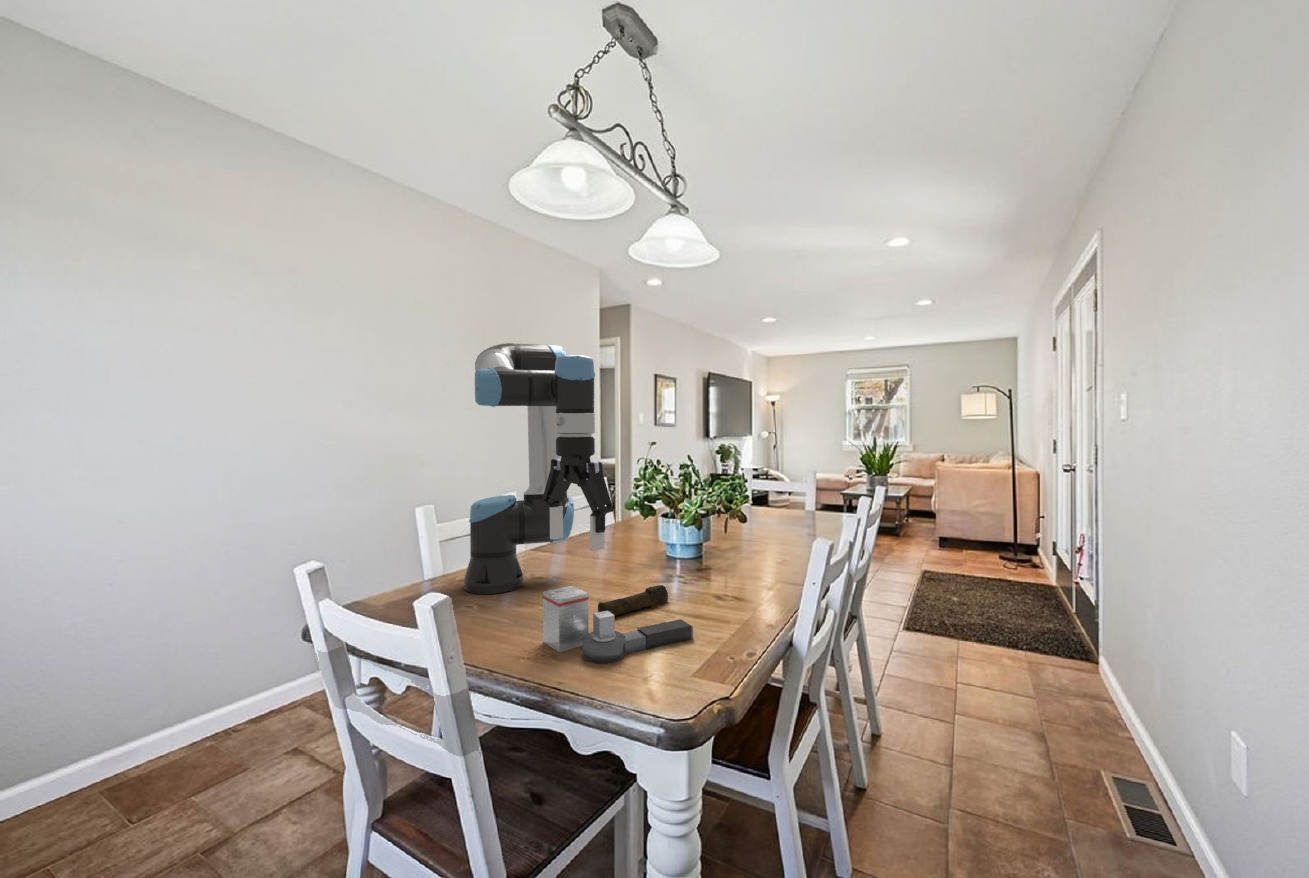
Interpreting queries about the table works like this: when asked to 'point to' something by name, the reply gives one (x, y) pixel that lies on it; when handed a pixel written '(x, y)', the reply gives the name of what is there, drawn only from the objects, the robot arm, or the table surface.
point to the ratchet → (629, 638)
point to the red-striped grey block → (565, 618)
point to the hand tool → (636, 601)
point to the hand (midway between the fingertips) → (576, 543)
